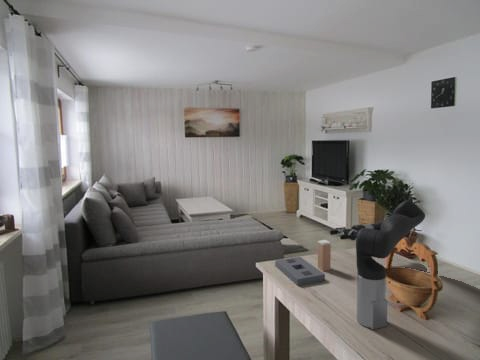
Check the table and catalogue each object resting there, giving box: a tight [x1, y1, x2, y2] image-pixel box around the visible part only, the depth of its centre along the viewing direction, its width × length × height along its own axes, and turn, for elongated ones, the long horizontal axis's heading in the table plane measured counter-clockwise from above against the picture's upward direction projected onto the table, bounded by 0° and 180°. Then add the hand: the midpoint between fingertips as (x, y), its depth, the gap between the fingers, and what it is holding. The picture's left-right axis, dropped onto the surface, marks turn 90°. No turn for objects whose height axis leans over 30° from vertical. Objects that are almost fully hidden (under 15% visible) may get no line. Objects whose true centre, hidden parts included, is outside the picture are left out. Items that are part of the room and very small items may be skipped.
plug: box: [317, 239, 332, 272], centre depth 159 cm, size 4×4×14 cm
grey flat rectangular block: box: [274, 256, 326, 287], centre depth 156 cm, size 24×14×3 cm, turn 17°
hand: (335, 234), depth 159 cm, fingers open, 8 cm apart
